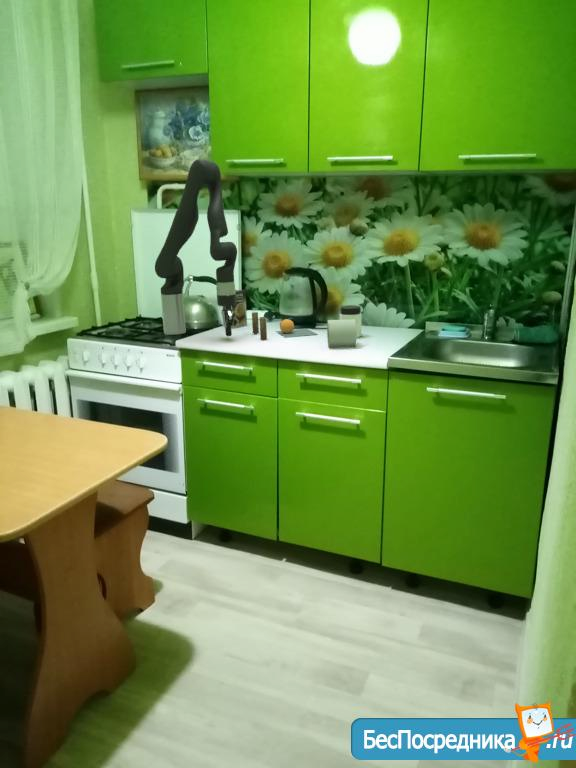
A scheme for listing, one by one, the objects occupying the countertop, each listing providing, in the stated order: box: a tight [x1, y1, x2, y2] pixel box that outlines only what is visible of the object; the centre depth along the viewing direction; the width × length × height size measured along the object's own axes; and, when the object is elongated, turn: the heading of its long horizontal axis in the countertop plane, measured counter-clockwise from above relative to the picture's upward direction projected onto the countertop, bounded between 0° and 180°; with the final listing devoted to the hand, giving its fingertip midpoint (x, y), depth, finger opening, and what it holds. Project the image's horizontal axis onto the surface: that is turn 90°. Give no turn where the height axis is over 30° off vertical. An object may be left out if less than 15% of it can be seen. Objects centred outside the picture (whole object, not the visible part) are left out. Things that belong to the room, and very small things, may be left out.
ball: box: [279, 318, 295, 333], centre depth 250 cm, size 6×6×6 cm
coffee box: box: [223, 289, 248, 329], centre depth 269 cm, size 9×6×16 cm
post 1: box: [251, 311, 260, 335], centre depth 251 cm, size 3×3×9 cm
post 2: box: [259, 316, 268, 341], centre depth 239 cm, size 3×3×9 cm
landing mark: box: [275, 328, 318, 338], centre depth 251 cm, size 14×14×1 cm
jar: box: [339, 304, 362, 339], centre depth 239 cm, size 9×8×12 cm
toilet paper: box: [326, 319, 357, 348], centre depth 223 cm, size 10×10×10 cm
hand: (228, 335), depth 242 cm, fingers closed
